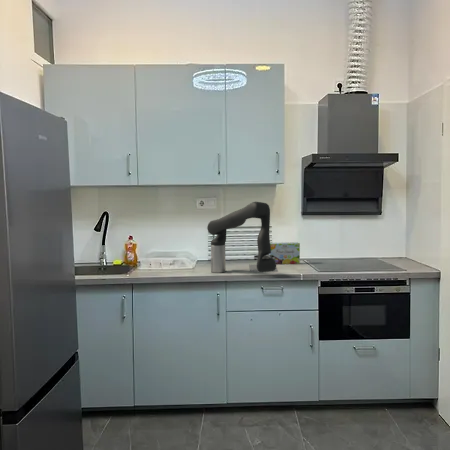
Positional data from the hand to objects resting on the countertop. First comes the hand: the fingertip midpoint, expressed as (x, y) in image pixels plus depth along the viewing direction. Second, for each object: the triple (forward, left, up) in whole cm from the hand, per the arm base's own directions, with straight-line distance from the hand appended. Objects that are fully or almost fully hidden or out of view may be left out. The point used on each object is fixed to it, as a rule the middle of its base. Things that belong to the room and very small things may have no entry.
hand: (263, 255), depth 266 cm
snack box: (+16, +38, -12) cm, 43 cm away
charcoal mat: (0, +17, -11) cm, 20 cm away
